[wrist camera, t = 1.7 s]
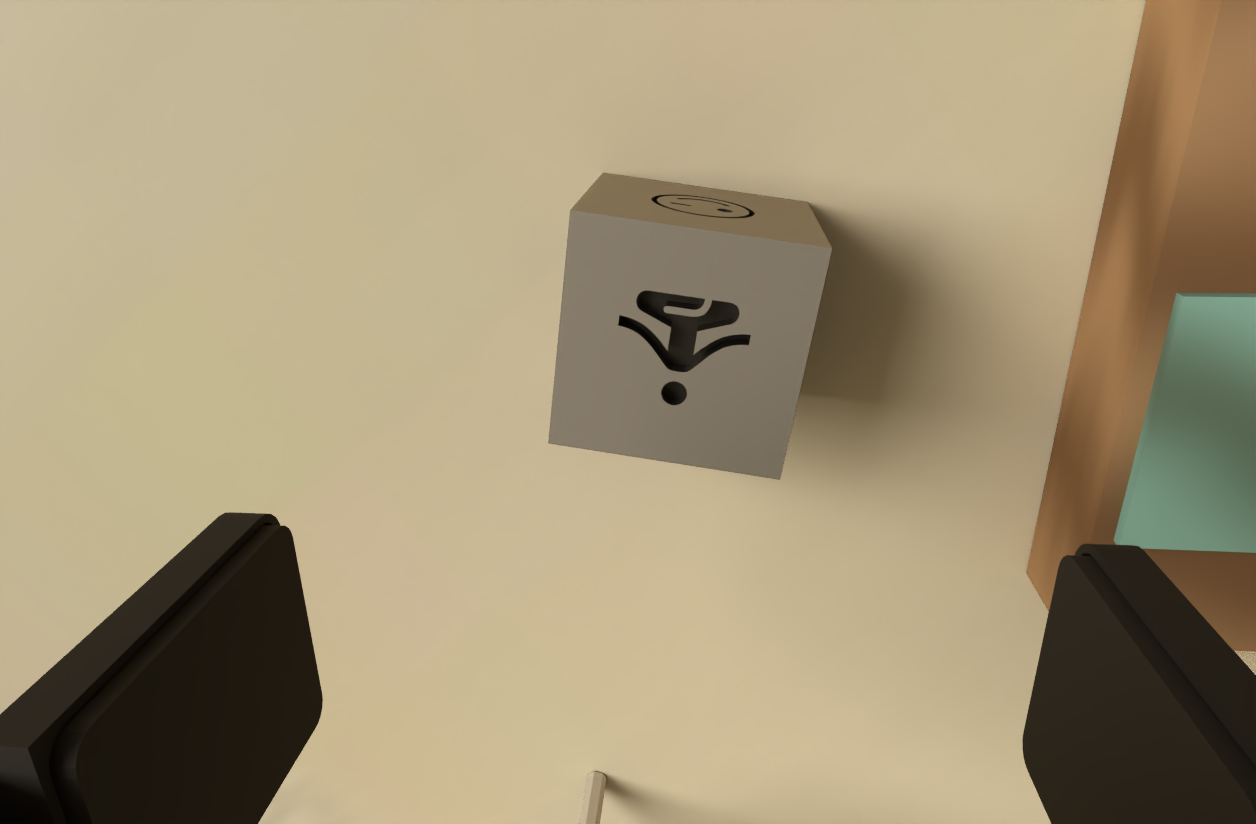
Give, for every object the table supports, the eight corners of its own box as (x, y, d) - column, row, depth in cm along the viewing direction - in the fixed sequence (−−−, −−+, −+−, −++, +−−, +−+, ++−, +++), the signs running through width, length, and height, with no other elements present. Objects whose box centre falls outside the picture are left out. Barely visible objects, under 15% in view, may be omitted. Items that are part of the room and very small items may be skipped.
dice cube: (807, 201, 20) (832, 248, 16) (767, 390, 22) (780, 479, 18) (603, 172, 21) (570, 210, 16) (582, 362, 23) (548, 443, 18)
